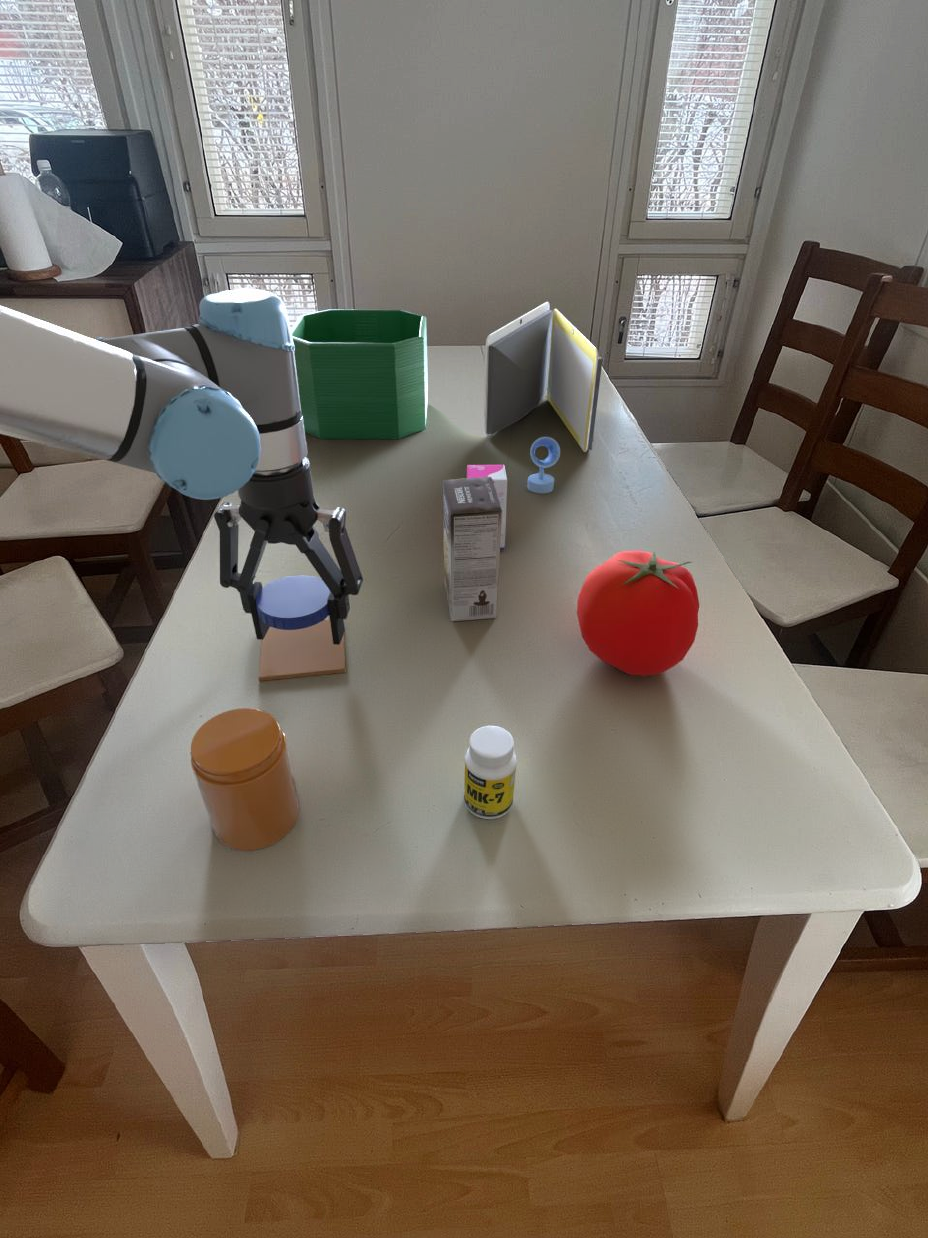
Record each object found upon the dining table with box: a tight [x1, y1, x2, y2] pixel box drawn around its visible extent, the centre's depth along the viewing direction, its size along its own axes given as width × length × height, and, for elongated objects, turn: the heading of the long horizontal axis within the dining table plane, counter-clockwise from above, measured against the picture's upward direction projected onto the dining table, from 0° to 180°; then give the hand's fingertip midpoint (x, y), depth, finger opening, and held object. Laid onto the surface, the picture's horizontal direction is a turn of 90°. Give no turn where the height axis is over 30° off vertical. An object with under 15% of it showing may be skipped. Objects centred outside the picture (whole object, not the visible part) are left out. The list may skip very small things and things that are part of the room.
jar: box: [190, 707, 301, 852], centre depth 62 cm, size 8×8×10 cm
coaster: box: [257, 618, 347, 682], centre depth 85 cm, size 10×10×1 cm
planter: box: [291, 309, 429, 440], centre depth 141 cm, size 26×26×18 cm
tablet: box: [483, 301, 603, 453], centre depth 139 cm, size 35×22×20 cm, turn 10°
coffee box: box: [442, 477, 502, 622], centre depth 88 cm, size 9×6×16 cm
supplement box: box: [466, 464, 508, 552], centre depth 102 cm, size 6×6×12 cm
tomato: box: [576, 549, 700, 677], centre depth 81 cm, size 16×14×14 cm
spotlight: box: [526, 436, 561, 494], centre depth 117 cm, size 5×10×7 cm
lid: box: [256, 574, 330, 630], centre depth 80 cm, size 9×9×2 cm
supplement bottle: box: [463, 725, 517, 820], centre depth 64 cm, size 5×5×8 cm
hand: (301, 634), depth 83 cm, fingers closed on lid, 9 cm apart
